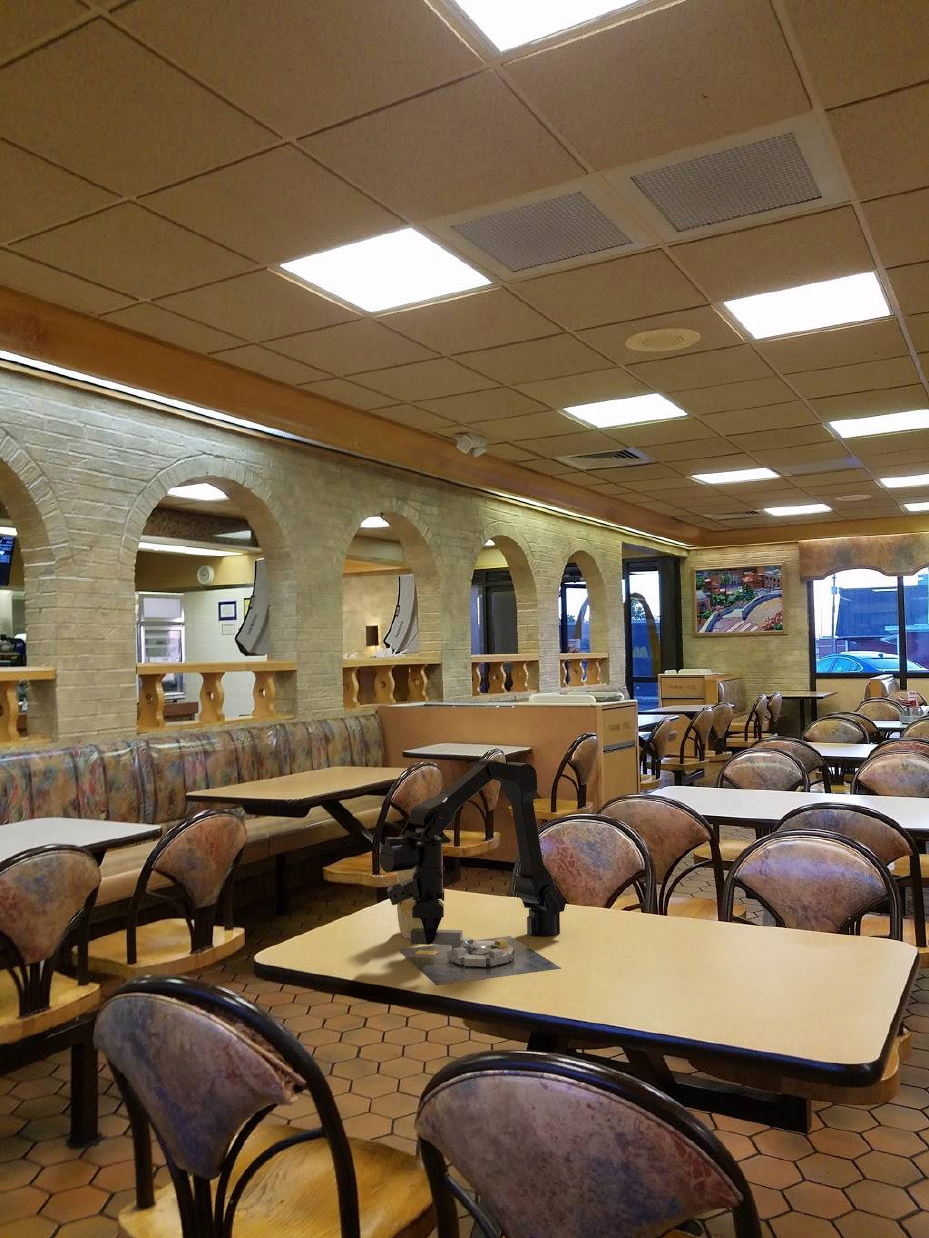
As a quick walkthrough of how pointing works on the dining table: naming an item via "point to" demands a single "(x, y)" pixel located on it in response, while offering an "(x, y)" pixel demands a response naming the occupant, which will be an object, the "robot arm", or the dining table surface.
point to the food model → (407, 908)
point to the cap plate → (449, 972)
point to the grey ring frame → (466, 948)
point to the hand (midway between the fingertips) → (429, 943)
